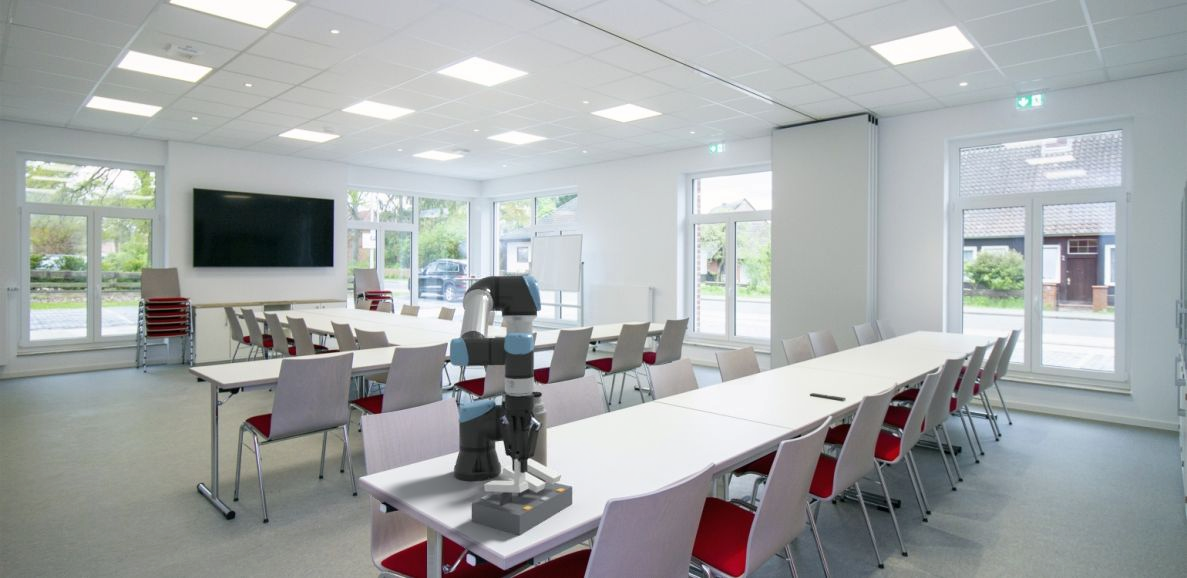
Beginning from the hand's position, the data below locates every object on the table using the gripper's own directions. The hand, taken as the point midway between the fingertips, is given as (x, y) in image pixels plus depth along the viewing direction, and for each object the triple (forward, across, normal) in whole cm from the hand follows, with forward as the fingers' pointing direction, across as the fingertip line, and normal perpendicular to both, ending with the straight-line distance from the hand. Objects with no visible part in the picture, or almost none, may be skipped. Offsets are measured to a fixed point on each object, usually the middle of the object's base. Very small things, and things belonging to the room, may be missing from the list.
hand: (519, 484), depth 157 cm
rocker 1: (+2, -5, 0) cm, 5 cm away
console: (+11, -5, +8) cm, 14 cm away
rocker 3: (+1, -5, +15) cm, 16 cm away
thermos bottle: (+11, -18, +30) cm, 36 cm away
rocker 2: (+1, -5, +8) cm, 9 cm away
